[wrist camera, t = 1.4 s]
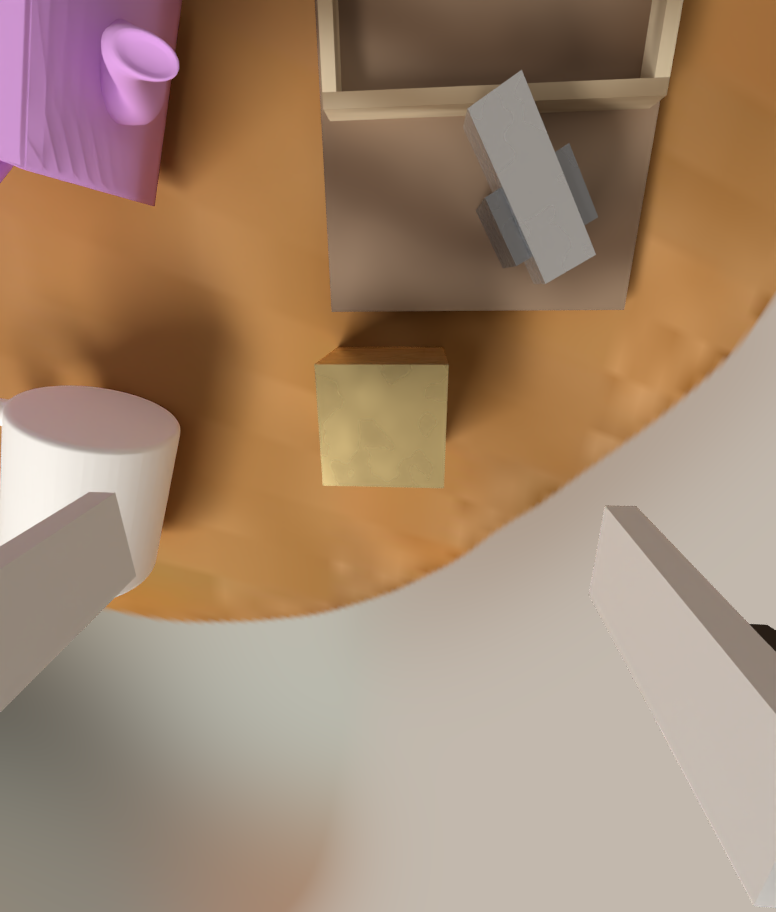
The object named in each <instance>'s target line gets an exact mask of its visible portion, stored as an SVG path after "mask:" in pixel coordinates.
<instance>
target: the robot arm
mask: <svg viewBox="0 0 776 912" xmlns="http://www.w3.org/2000/svg"><path fill="white" fill-rule="evenodd" d="M135 577H136V573H135V569H134V565H133V561H132V557H131V553H130V549H129V545H128V541H127V537H126V533H125V529H124V525H123V521H122V517H121V513H120V509H119V505H118V501H117V497H116V493H111V492H88V493H87V494H85V495H83V496H82V497H80V498H78V499H77V500H75V501H74V502H72V503H70V504H69V505H67V506H65V507H64V508H62V509H60V510H59V511H57V512H56V513H54V514H52V515H51V516H49V517H47V518H46V519H44V520H42V521H41V522H39V523H38V524H36V525H34V526H33V527H31V528H29V529H28V530H26V531H24V532H23V533H21V534H20V535H18V536H16V537H15V538H13V539H11V540H10V541H8V542H6V543H5V544H3V545H2V546H0V712H1V711H2V710H3V709H4V708H5V707H6V706H7V705H8V704H9V703H10V702H11V701H12V700H13V699H14V698H15V697H16V696H17V695H18V694H19V693H20V692H21V691H22V690H23V689H24V688H25V687H26V686H27V685H28V684H29V683H30V682H31V681H32V680H33V679H34V678H35V677H36V676H37V675H38V674H39V673H40V672H41V671H42V670H43V669H44V668H45V667H46V666H47V665H48V664H49V663H50V662H51V661H52V660H53V659H54V658H55V657H56V656H57V655H58V654H59V653H60V652H61V651H62V650H63V649H64V648H65V647H66V646H67V645H68V644H69V643H70V642H71V641H72V640H73V639H74V638H75V637H76V636H77V635H78V634H79V633H80V632H81V631H82V630H83V629H84V628H85V627H86V626H87V625H88V624H89V623H90V622H91V621H92V620H93V619H94V618H95V617H96V616H97V615H98V614H99V613H100V612H101V611H102V610H103V609H104V608H105V607H106V606H107V605H108V604H109V603H110V602H111V601H112V600H113V599H114V598H115V597H116V596H117V595H118V594H119V593H120V592H121V591H122V590H123V589H124V588H125V587H126V586H127V585H128V584H129V583H130V582H131V581H132V580H133V579H134V578H135ZM589 596H590V598H591V600H592V602H593V604H594V606H595V608H596V610H597V611H598V613H599V615H600V617H601V619H602V621H603V623H604V624H605V626H606V628H607V630H608V632H609V634H610V636H611V638H612V640H613V642H614V644H615V645H616V647H617V649H618V651H619V653H620V655H621V657H622V659H623V661H624V662H625V664H626V666H627V668H628V670H629V672H630V674H631V675H632V677H633V679H634V681H635V683H636V685H637V687H638V689H639V691H640V692H641V694H642V696H643V698H644V700H645V702H646V704H647V706H648V708H649V709H650V711H651V713H652V715H653V717H654V719H655V721H656V723H657V725H658V726H659V728H660V730H661V732H662V734H663V736H664V738H665V740H666V742H667V744H668V745H669V747H670V749H671V751H672V753H673V754H674V756H675V759H676V761H677V762H678V764H679V766H680V768H681V770H682V772H683V774H684V776H685V777H686V779H687V781H688V783H689V785H690V787H691V789H692V791H693V792H694V794H695V796H696V798H697V800H698V802H699V804H700V806H701V808H702V810H703V812H704V813H705V815H706V817H707V819H708V821H709V823H710V825H711V827H712V828H713V830H714V832H715V834H716V836H717V838H718V840H719V842H720V844H721V846H722V847H723V849H724V851H725V853H726V855H727V857H728V859H729V861H730V862H731V864H732V866H733V868H734V870H735V871H736V874H737V876H738V878H739V879H740V881H741V883H742V885H743V887H744V889H745V891H746V893H747V895H748V896H749V898H750V900H751V902H752V904H753V906H759V907H770V908H776V630H774V629H773V628H771V627H770V626H768V625H758V624H749V623H748V622H747V621H746V620H745V619H744V618H743V617H742V616H741V615H740V614H739V613H738V612H737V611H736V610H735V609H734V608H733V607H732V606H731V605H730V604H729V603H728V602H727V600H726V599H724V597H723V596H722V595H721V594H720V593H719V592H718V591H717V590H716V589H715V588H714V587H713V586H712V585H711V584H710V583H709V582H708V581H707V580H706V579H705V578H704V576H703V575H701V573H700V572H699V571H697V569H696V568H695V567H694V566H693V565H692V564H691V563H690V562H689V561H688V560H687V559H686V558H685V557H684V556H683V555H682V554H681V553H680V551H679V550H678V549H677V548H676V547H675V546H674V545H673V544H672V543H671V542H670V541H669V540H668V539H667V538H666V537H665V536H664V535H663V534H662V533H661V532H660V531H659V530H658V529H657V527H656V526H655V525H653V523H652V522H651V521H650V520H649V519H648V518H647V517H646V516H645V515H644V514H643V513H642V512H641V511H640V510H639V509H638V508H637V507H636V506H605V508H604V514H603V519H602V524H601V530H600V535H599V541H598V546H597V552H596V557H595V563H594V569H593V574H592V579H591V585H590V590H589Z"/></svg>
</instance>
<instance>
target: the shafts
mask: <svg viewBox="0 0 776 912" xmlns="http://www.w3.org/2000/svg"><path fill="white" fill-rule="evenodd" d="M463 129H464V131H465V133H466V135H467V137H468V140H469V142H470V144H471V146H472V149H473V151H474V153H475V155H476V157H477V160H478V162H479V164H480V166H481V168H482V171H483V173H484V175H485V177H486V180H487V182H488V184H489V186H490V188H491V191H492V193H491V194H490V195H488V196H487V197H485V198H484V200H483V201H482V202H481V204H480V205H479V207H478V208H477V209H476V212H477V214H478V217H479V219H480V221H481V223H482V225H483V227H484V229H485V232H486V234H487V236H488V238H489V240H490V242H491V244H492V246H493V249H494V251H495V253H496V255H497V257H498V259H499V261H500V264H501V266H502V268H509V267H515V266H517V265H519V264H521V263H522V262H524V264H525V266H526V268H527V270H528V272H529V275H530V277H531V279H532V281H533V283H534V284H546V283H548V282H550V281H551V280H553V279H555V278H557V277H558V276H560V275H562V274H564V273H565V272H567V271H569V270H570V269H572V268H574V267H576V266H577V265H579V264H581V263H583V262H584V261H586V260H588V259H589V258H591V257H593V256H595V255H596V253H595V251H594V248H593V246H592V243H591V241H590V238H589V236H588V233H587V231H586V228H585V226H584V225H586V224H588V223H589V222H591V221H593V220H594V219H596V218H598V215H597V213H596V210H595V207H594V205H593V202H592V200H591V197H590V195H589V192H588V190H587V187H586V184H585V182H584V179H583V177H582V174H581V172H580V169H579V167H578V164H577V161H576V159H575V156H574V154H573V151H572V149H571V146H570V144H569V143H568V144H567V145H565V146H564V147H562V148H560V149H559V150H557V151H556V152H555V151H554V149H553V146H552V144H551V141H550V139H549V136H548V134H547V131H546V129H545V126H544V124H543V121H542V119H541V116H540V114H539V111H538V109H537V106H536V104H535V102H534V99H533V97H532V94H531V92H530V89H529V87H528V84H527V82H526V79H525V77H524V74H523V72H522V70H521V71H519V72H518V73H516V74H515V75H514V76H512V77H511V78H509V79H508V80H507V81H505V82H504V83H502V84H501V85H500V86H498V87H497V88H495V89H494V90H493V91H491V92H490V93H488V94H487V95H486V96H484V97H483V98H481V99H480V100H479V101H477V102H476V103H474V104H473V105H472V106H470V107H469V108H468V109H467V113H466V117H465V121H464V125H463Z"/></svg>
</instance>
